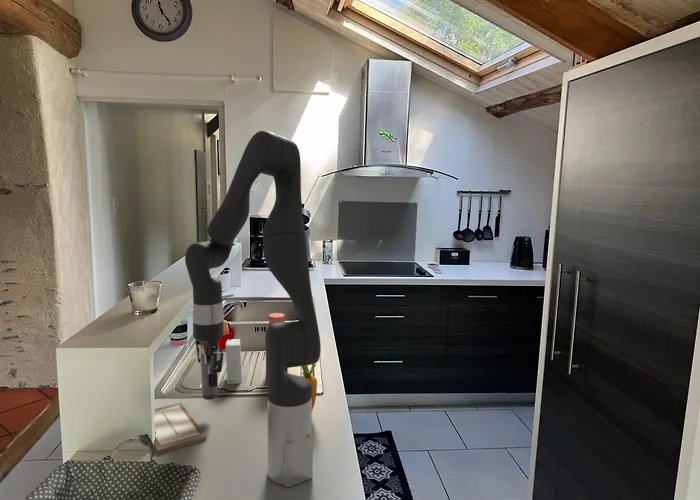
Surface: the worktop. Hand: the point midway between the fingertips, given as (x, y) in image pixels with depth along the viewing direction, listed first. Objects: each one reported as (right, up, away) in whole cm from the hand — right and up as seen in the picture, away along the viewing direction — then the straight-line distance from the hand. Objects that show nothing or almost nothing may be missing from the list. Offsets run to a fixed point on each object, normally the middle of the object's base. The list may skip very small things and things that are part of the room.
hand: (209, 383), depth 125 cm
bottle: (+13, -5, +26) cm, 30 cm away
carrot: (+25, -10, +2) cm, 27 cm away
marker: (0, -4, +1) cm, 4 cm away
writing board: (-8, -10, -5) cm, 14 cm away
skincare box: (+1, -6, +23) cm, 24 cm away
